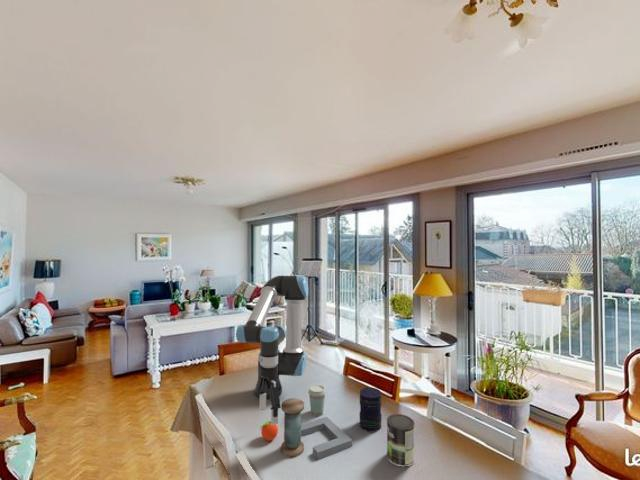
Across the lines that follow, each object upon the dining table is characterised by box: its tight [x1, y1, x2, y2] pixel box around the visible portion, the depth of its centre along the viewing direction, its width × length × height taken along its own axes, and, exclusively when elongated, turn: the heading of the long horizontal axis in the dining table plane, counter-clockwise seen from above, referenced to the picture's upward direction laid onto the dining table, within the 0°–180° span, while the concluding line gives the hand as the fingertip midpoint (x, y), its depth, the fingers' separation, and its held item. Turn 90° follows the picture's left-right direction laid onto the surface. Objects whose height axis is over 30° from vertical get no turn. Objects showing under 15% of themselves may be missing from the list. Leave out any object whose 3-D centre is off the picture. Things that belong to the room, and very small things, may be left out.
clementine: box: [258, 420, 279, 441], centre depth 131 cm, size 8×7×7 cm
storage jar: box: [359, 386, 383, 433], centre depth 142 cm, size 10×10×15 cm
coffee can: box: [386, 413, 415, 468], centre depth 120 cm, size 10×10×14 cm
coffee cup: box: [308, 384, 327, 417], centre depth 152 cm, size 8×8×12 cm
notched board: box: [301, 416, 353, 460], centre depth 131 cm, size 20×16×2 cm
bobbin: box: [280, 397, 305, 458], centre depth 124 cm, size 9×9×18 cm
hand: (268, 416), depth 131 cm, fingers open, 13 cm apart
